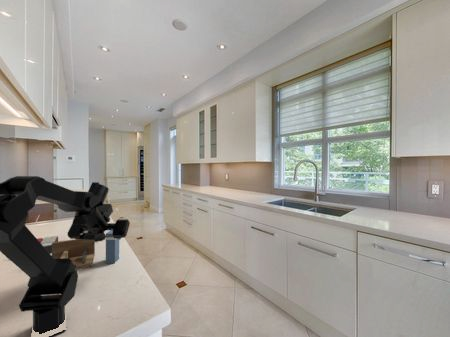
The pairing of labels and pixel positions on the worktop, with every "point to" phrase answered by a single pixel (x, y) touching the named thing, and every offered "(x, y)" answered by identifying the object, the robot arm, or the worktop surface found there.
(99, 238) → the carrying case or bag
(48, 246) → the calculator
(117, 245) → the blue tall block
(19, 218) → the robot arm
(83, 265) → the stand
